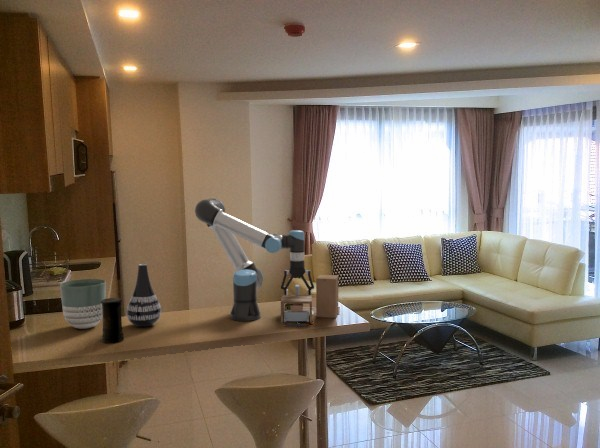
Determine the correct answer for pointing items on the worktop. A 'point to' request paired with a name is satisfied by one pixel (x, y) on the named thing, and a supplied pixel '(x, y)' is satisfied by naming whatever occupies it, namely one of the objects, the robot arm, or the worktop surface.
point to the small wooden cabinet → (296, 313)
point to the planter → (83, 302)
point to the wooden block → (327, 296)
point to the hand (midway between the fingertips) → (297, 302)
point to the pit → (296, 325)
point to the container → (112, 320)
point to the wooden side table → (296, 302)
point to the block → (296, 307)
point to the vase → (143, 301)
